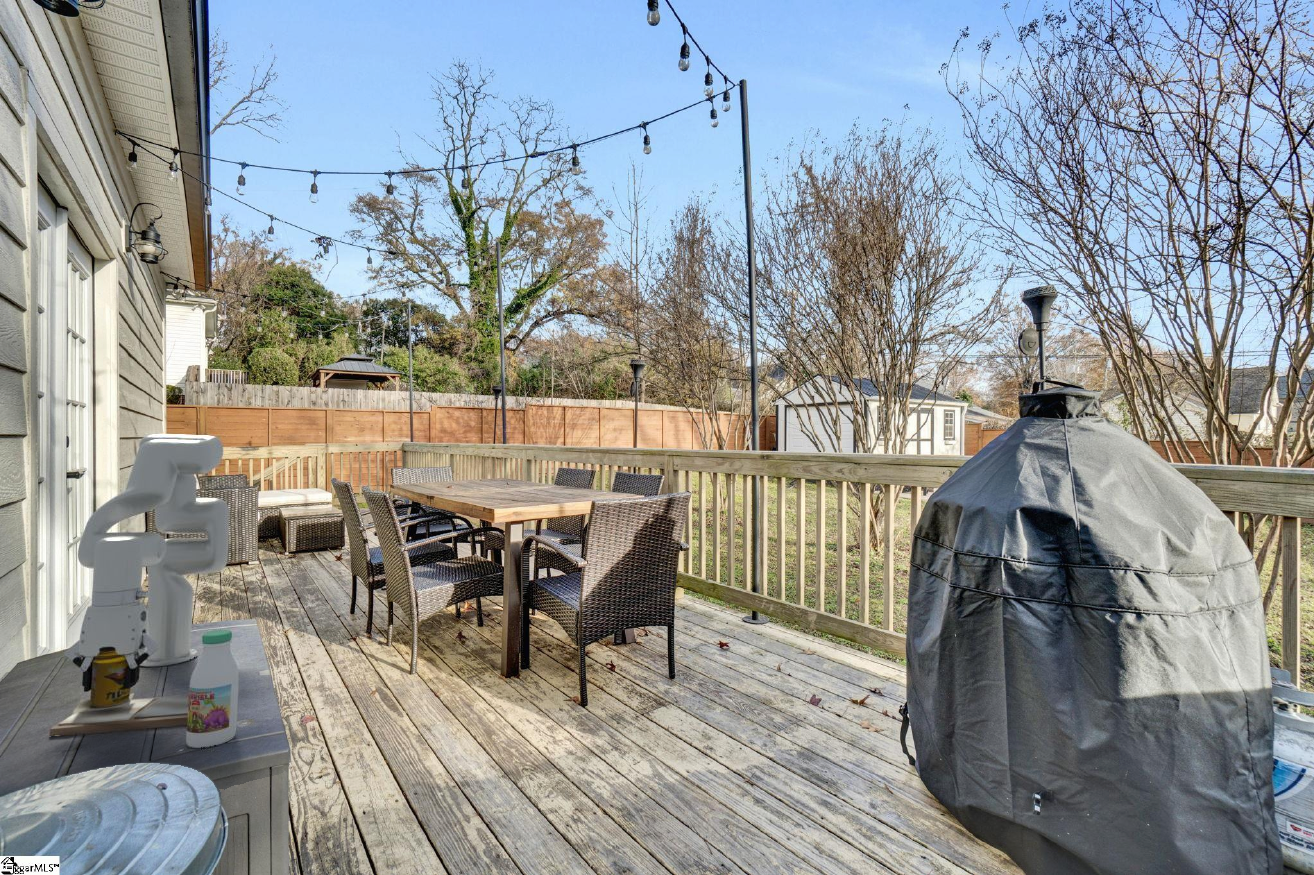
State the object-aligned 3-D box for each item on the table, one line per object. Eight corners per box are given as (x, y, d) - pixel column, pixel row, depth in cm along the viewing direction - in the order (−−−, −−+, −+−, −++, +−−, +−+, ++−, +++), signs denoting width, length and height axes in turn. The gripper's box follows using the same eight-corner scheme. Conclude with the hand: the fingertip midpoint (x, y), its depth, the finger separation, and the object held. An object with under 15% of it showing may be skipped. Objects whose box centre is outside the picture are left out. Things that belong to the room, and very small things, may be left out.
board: (91, 709, 130) (92, 700, 130) (224, 698, 137) (225, 690, 137) (49, 737, 116) (50, 727, 116) (199, 723, 124) (199, 714, 124)
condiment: (128, 705, 124) (132, 645, 125) (71, 714, 119) (75, 651, 120) (134, 694, 130) (137, 636, 131) (80, 701, 126) (84, 641, 126)
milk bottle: (202, 731, 120) (208, 627, 121) (244, 731, 121) (250, 627, 122) (175, 749, 112) (182, 637, 113) (220, 748, 113) (226, 637, 114)
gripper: (174, 592, 132) (169, 678, 131) (75, 596, 127) (68, 685, 126) (158, 599, 125) (152, 690, 124) (52, 603, 120) (45, 698, 119)
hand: (110, 687), depth 125 cm, fingers closed on condiment, 6 cm apart
